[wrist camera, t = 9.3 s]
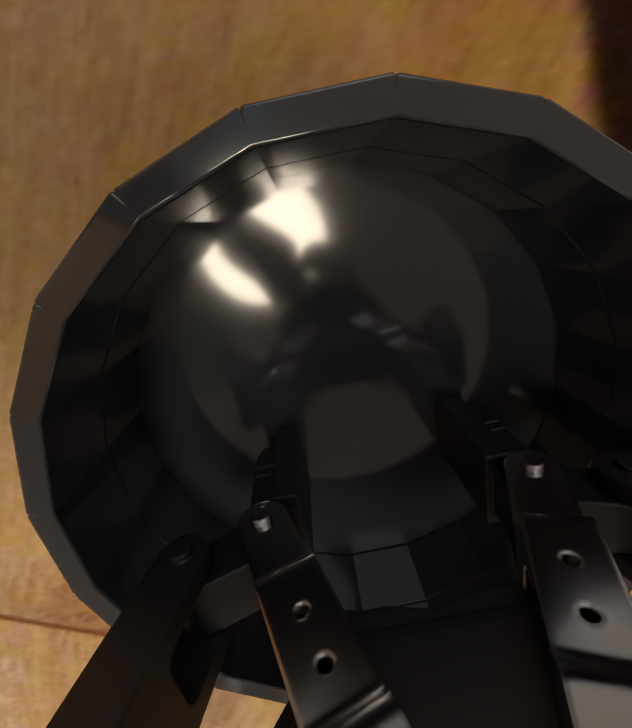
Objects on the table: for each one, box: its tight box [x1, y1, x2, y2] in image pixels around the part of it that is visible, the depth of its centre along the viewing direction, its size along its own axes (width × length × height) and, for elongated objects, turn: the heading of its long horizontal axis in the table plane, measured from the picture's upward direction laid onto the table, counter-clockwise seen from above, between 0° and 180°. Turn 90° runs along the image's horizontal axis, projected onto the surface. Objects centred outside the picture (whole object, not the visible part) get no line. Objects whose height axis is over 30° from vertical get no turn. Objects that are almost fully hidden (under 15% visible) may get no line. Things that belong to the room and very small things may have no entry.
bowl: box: [10, 72, 632, 704], centre depth 11 cm, size 15×15×6 cm
